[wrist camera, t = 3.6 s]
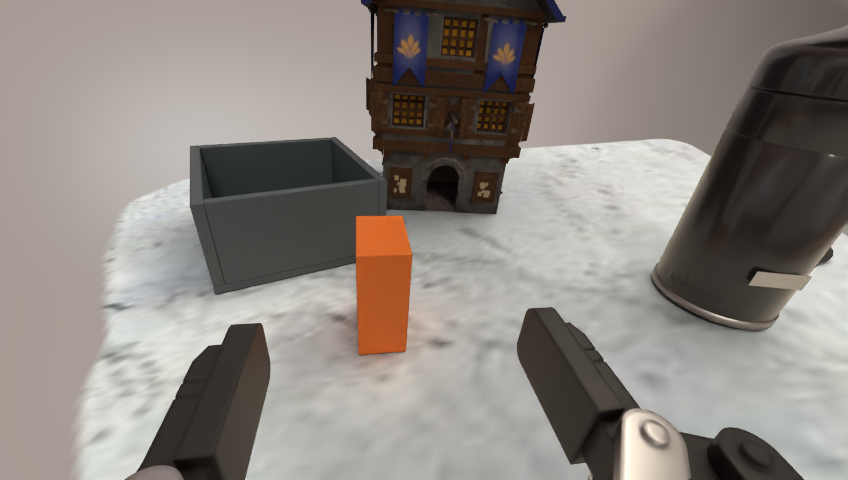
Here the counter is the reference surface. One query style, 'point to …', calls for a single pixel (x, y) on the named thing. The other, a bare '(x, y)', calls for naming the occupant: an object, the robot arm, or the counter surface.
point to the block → (382, 283)
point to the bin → (279, 207)
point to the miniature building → (452, 96)
